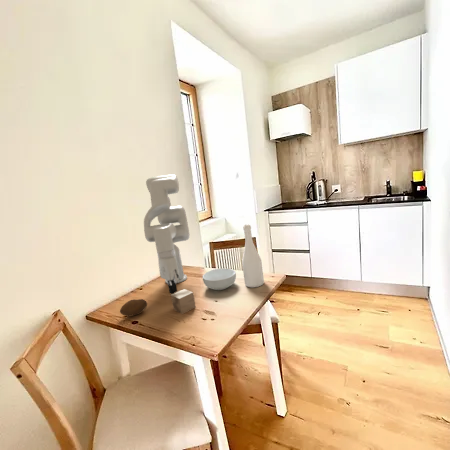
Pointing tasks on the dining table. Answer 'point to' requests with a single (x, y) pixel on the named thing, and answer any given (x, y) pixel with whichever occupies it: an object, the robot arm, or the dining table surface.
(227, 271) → the cereal bowl
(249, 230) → the wine bottle
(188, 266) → the dining table surface
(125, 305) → the potato
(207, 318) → the dining table surface
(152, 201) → the robot arm
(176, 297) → the cube
